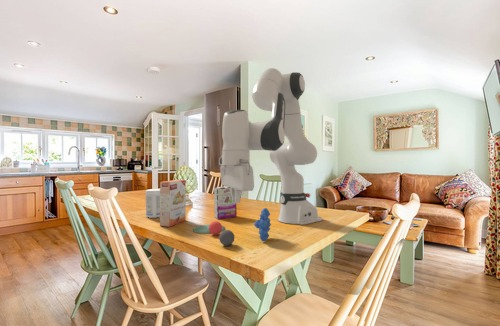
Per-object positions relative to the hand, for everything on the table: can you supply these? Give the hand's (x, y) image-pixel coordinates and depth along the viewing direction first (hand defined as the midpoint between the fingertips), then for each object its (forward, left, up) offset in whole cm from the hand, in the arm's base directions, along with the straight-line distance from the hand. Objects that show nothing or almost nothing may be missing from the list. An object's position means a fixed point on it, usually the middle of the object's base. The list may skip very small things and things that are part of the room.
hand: (236, 202), depth 81 cm
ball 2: (0, -9, -14) cm, 17 cm away
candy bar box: (-14, -51, -17) cm, 56 cm away
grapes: (-14, -10, -17) cm, 25 cm away
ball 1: (0, -23, -14) cm, 28 cm away
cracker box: (+13, -50, -17) cm, 55 cm away
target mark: (0, -33, -17) cm, 37 cm away
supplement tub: (+20, -70, -17) cm, 75 cm away
